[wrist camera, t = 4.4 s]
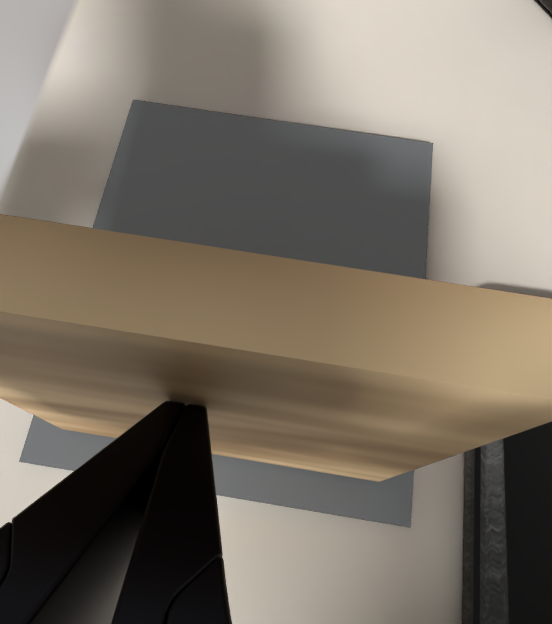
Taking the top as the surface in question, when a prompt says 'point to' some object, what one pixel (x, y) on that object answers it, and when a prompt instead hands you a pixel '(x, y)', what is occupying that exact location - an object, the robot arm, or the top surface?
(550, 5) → the wine bottle
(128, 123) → the charcoal mat
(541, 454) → the phone
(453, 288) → the oak block
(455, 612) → the top surface
